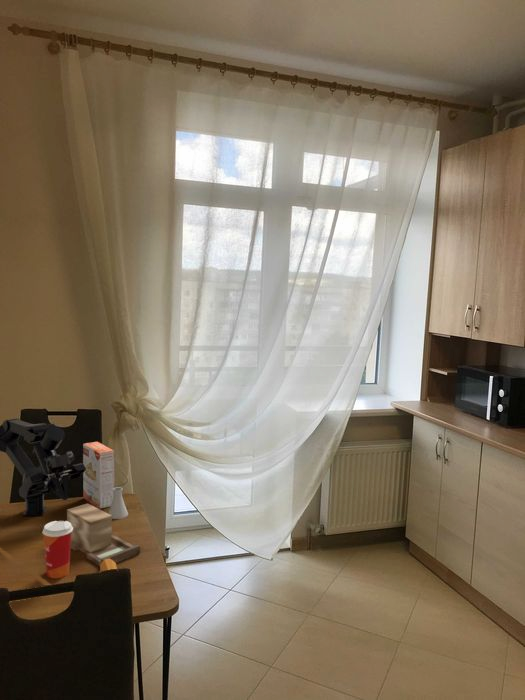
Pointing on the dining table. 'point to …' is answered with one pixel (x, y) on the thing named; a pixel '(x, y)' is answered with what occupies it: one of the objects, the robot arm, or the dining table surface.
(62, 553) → the paper cup
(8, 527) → the dining table surface
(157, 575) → the dining table surface
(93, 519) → the tea box
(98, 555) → the tan shallow tray
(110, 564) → the carrot
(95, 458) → the cracker box
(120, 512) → the flask
